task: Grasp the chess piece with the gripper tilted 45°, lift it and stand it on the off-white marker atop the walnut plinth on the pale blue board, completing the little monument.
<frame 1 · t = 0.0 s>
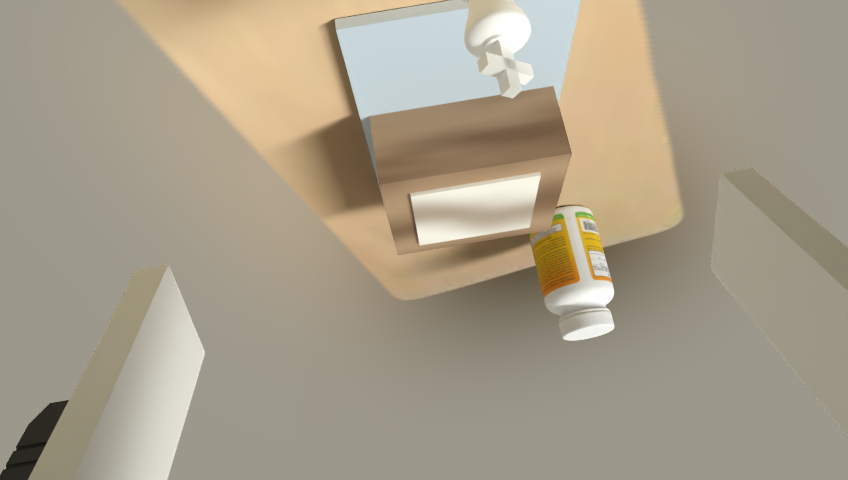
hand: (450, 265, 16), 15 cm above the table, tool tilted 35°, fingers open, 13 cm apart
walnut plinth: (460, 139, 41), resting on pale blue board
pale blue board: (459, 112, 38), on the table
supplement bottle: (558, 216, 54), on the table
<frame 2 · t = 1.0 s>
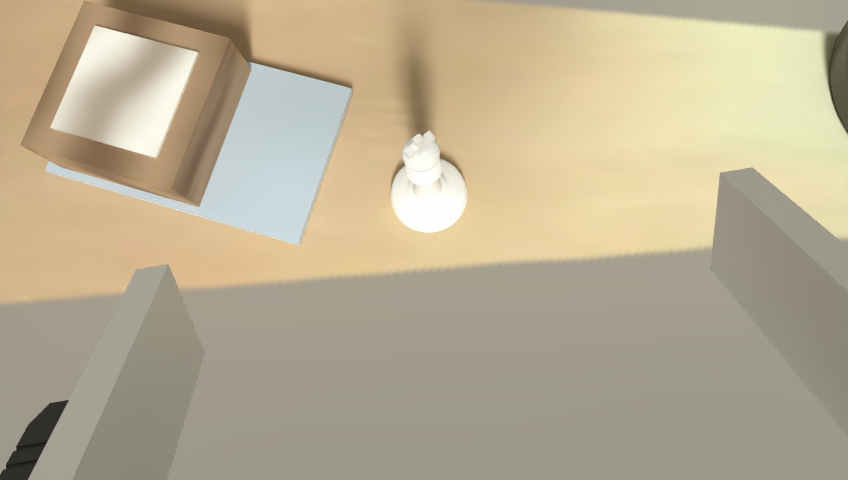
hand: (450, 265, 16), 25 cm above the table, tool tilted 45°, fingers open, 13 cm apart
walnut plinth: (161, 121, 45), resting on pale blue board
pale blue board: (201, 132, 45), on the table
chess piece: (429, 196, 43), on the table
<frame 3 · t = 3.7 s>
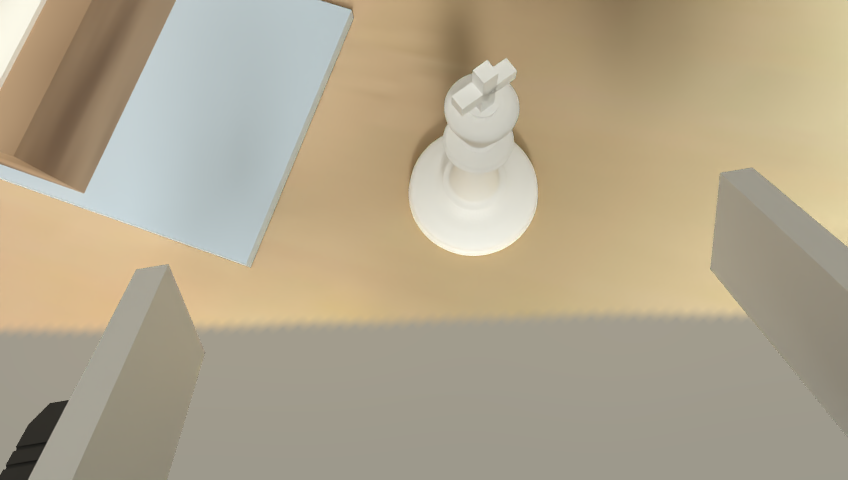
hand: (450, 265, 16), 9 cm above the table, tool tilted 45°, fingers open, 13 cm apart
walnut plinth: (37, 50, 28), resting on pale blue board
pale blue board: (101, 71, 27), on the table
chess piece: (472, 194, 26), on the table
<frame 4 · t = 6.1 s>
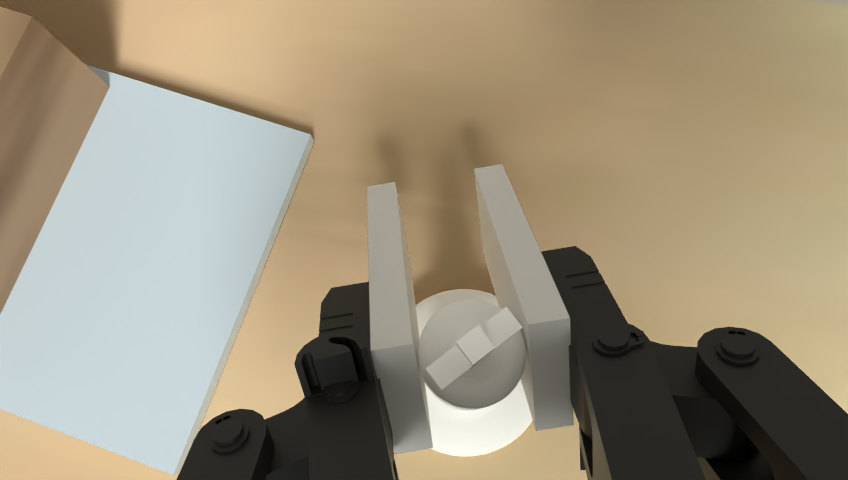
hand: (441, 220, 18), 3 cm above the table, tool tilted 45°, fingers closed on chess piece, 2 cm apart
pale blue board: (0, 211, 22), on the table
chess piece: (464, 370, 20), on the table, touching gripper
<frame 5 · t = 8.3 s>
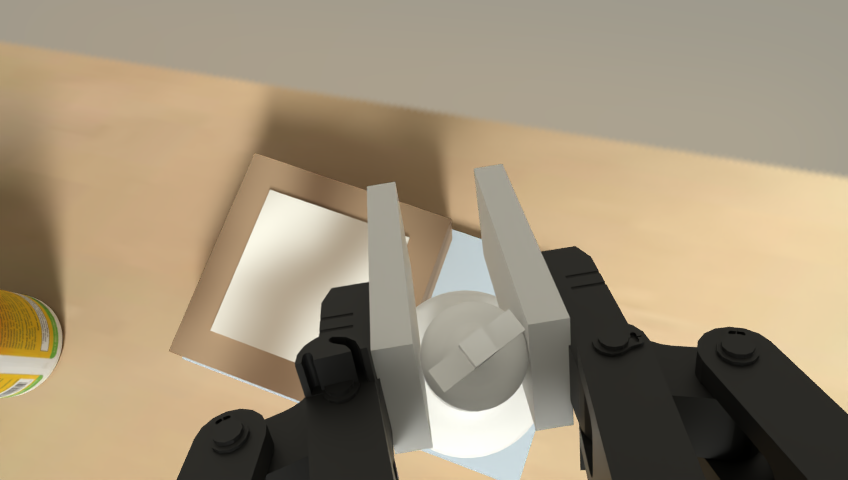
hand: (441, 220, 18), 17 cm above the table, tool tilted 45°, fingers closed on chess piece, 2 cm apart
walnut plinth: (331, 298, 35), resting on pale blue board
pale blue board: (384, 317, 35), on the table
chess piece: (465, 372, 20), point 14 cm above the table, touching gripper
supplement bottle: (19, 346, 36), on the table
when the fingers open (10 cm above the table, at t = 10.5 s): chess piece drops 1 cm, resting on walnut plinth.
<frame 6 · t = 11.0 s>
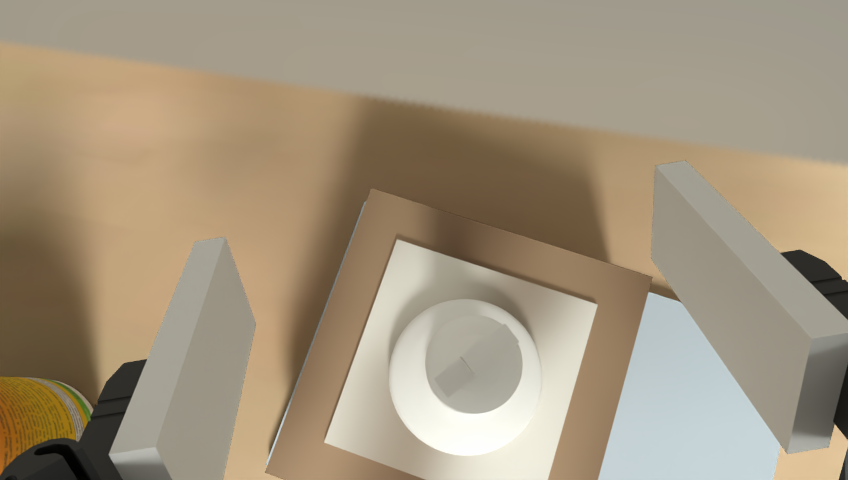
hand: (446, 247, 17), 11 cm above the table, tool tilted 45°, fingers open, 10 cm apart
walnut plinth: (460, 377, 26), resting on pale blue board
pale blue board: (533, 402, 26), on the table
chess piece: (464, 375, 22), point 5 cm above the table, touching walnut plinth
supplement bottle: (41, 447, 27), on the table
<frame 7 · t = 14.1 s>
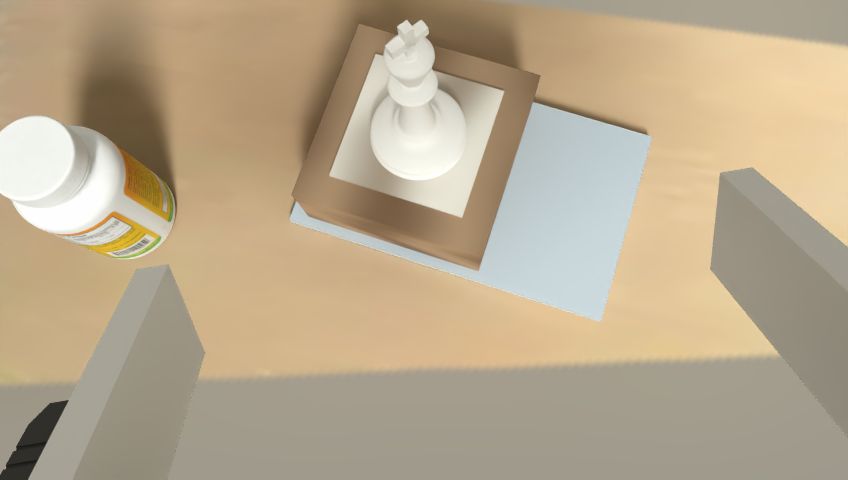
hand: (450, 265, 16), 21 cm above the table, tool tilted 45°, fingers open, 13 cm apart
walnut plinth: (421, 166, 39), resting on pale blue board
pale blue board: (471, 181, 38), on the table
chess piece: (419, 135, 34), point 5 cm above the table, touching walnut plinth
supplement bottle: (133, 216, 39), on the table
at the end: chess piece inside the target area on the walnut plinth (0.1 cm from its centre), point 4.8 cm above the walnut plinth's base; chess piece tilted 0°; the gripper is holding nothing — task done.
